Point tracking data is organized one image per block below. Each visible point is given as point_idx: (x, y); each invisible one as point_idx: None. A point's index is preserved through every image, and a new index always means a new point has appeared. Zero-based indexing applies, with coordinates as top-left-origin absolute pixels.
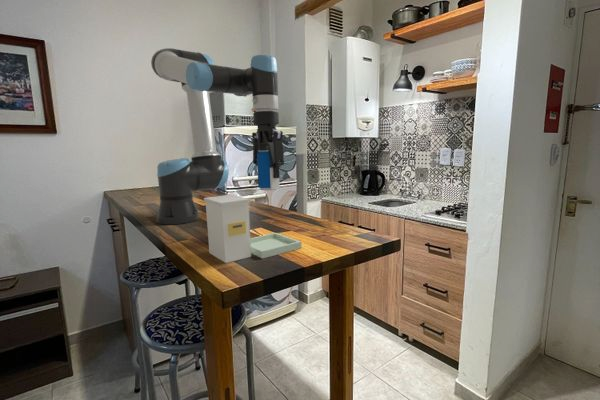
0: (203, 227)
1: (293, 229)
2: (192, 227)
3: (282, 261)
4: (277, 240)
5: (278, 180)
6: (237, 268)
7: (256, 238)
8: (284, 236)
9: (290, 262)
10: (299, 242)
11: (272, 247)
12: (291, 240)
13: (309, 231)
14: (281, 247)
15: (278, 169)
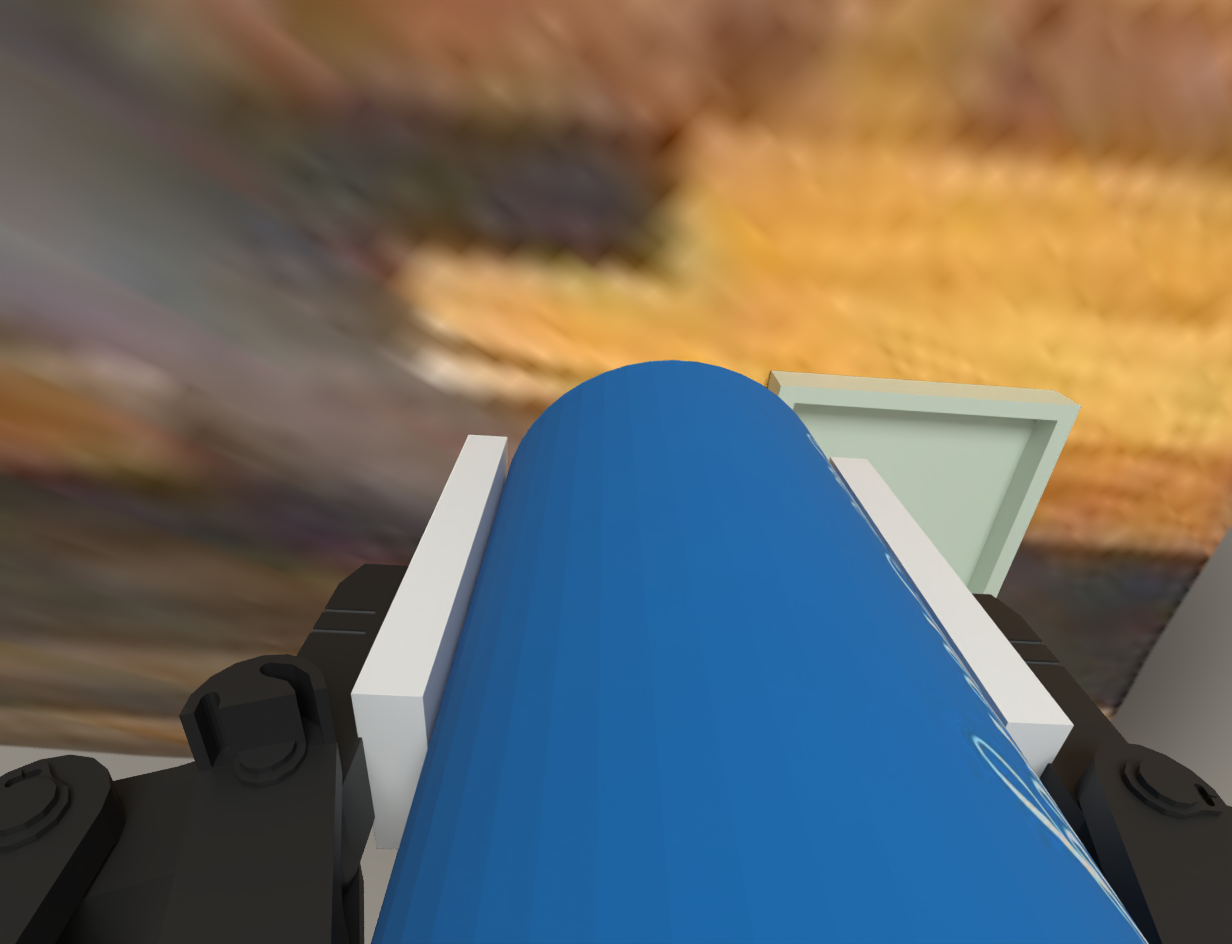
0: (146, 549)
1: (681, 77)
2: (106, 593)
3: (1073, 575)
4: (848, 423)
5: (913, 540)
6: None
7: None
8: (901, 403)
9: (1117, 560)
10: (1074, 419)
11: (920, 521)
12: (986, 413)
13: (855, 11)
14: (1020, 536)
15: (1103, 742)
